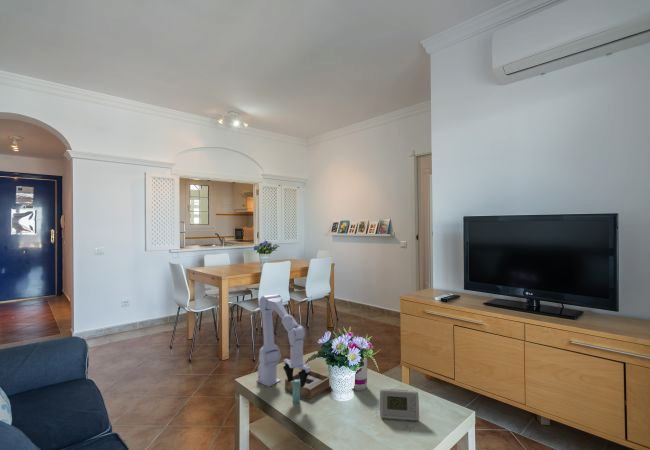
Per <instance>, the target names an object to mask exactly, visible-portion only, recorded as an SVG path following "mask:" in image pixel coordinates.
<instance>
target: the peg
mask: <svg viewBox="0 0 650 450" xmlns="http://www.w3.org/2000/svg"><path fill="white" fill-rule="evenodd" d="M300 397H301V395H300V380H293V392H292V402H293V403H294V404H297V403H300V400H301V398H300Z"/></svg>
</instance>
